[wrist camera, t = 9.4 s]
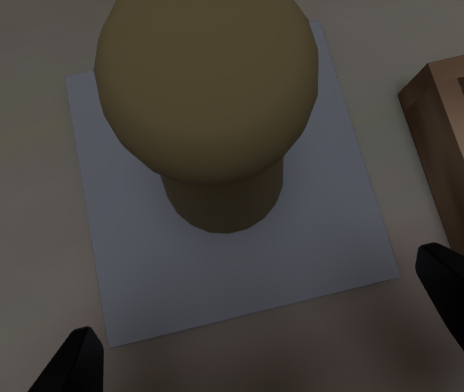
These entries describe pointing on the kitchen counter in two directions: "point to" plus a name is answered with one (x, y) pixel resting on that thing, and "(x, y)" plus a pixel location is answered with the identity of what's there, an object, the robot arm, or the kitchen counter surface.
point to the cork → (209, 99)
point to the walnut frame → (440, 137)
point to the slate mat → (234, 244)
